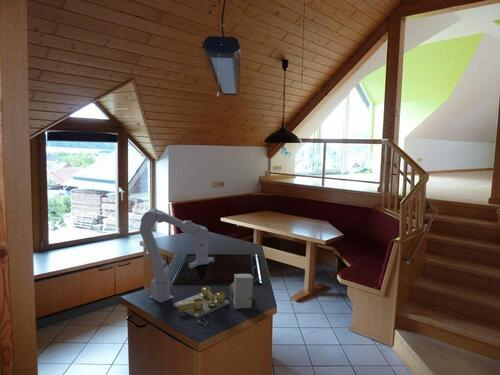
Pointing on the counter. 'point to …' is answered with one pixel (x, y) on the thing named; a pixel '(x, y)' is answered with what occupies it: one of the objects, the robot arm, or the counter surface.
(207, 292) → the knob
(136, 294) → the counter surface
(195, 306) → the knob
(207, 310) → the levelling plate
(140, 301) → the counter surface
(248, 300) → the skincare box
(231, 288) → the ceramic mug
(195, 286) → the counter surface
